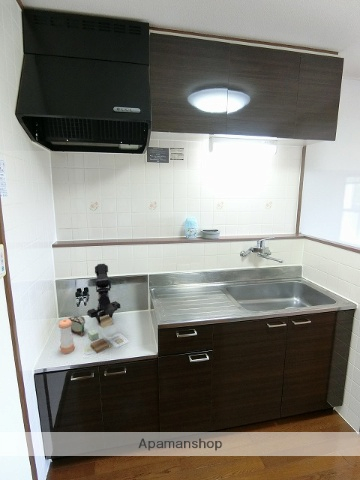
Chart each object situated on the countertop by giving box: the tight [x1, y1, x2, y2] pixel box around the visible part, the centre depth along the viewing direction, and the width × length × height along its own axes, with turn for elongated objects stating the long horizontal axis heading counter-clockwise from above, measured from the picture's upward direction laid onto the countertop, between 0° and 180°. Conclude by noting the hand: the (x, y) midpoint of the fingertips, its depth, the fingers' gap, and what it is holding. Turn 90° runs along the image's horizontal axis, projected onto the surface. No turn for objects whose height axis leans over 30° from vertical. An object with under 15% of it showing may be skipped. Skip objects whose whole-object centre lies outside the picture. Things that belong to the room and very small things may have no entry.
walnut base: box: [90, 337, 111, 354], centre depth 147 cm, size 8×8×2 cm
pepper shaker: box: [57, 318, 75, 355], centre depth 142 cm, size 7×7×19 cm
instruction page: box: [106, 332, 130, 349], centre depth 154 cm, size 12×9×1 cm
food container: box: [67, 315, 86, 337], centre depth 161 cm, size 12×6×10 cm, turn 65°
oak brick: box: [97, 315, 114, 329], centre depth 150 cm, size 6×6×4 cm
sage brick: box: [87, 329, 100, 342], centre depth 155 cm, size 4×4×4 cm
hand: (105, 322), depth 150 cm, fingers closed on oak brick, 6 cm apart
